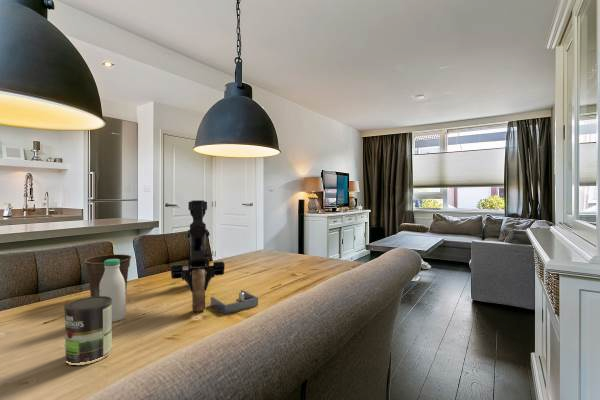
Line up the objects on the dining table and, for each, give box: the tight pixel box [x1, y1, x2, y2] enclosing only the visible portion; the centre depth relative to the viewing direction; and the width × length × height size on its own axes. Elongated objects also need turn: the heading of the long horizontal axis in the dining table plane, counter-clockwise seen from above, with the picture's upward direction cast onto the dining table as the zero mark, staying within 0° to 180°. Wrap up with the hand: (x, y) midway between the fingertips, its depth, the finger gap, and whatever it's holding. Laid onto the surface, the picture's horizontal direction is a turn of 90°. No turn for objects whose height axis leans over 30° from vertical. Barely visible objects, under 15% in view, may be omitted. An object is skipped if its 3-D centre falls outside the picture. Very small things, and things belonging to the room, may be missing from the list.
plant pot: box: [84, 254, 132, 297], centre depth 127 cm, size 16×16×16 cm
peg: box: [191, 269, 206, 312], centre depth 113 cm, size 4×4×14 cm
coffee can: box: [63, 296, 113, 363], centre depth 82 cm, size 10×10×14 cm
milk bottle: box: [99, 259, 127, 323], centre depth 106 cm, size 8×8×20 cm
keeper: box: [210, 290, 259, 315], centre depth 118 cm, size 12×14×6 cm
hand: (198, 290), depth 111 cm, fingers closed on peg, 4 cm apart
